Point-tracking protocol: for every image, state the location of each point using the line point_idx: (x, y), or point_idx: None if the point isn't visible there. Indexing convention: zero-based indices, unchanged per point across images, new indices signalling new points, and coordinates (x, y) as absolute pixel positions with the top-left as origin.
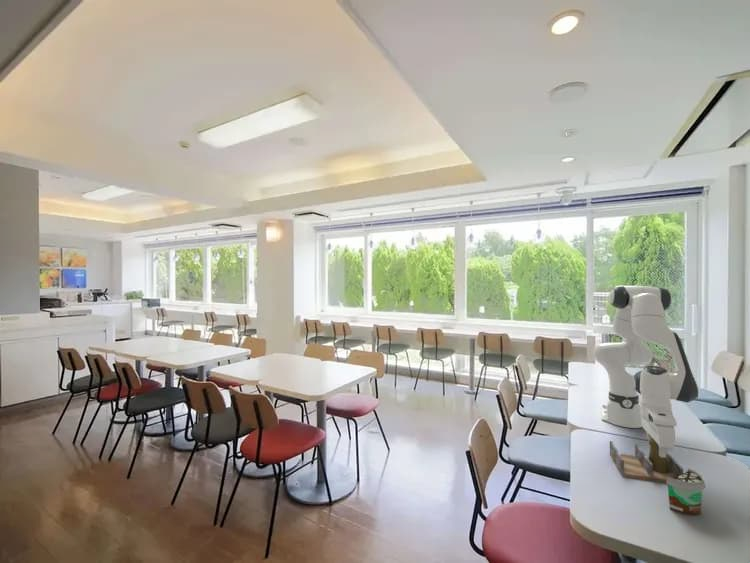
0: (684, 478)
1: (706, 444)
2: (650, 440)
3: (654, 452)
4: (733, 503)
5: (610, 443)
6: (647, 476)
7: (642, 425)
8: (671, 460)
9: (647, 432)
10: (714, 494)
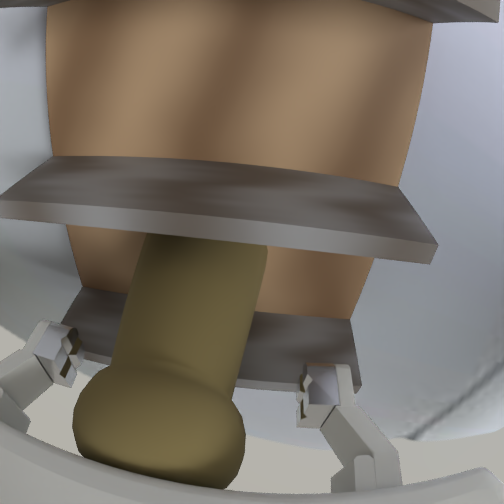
0: None
1: (455, 430)
2: (104, 420)
3: (126, 322)
4: None
5: None
6: (54, 141)
7: (470, 497)
8: None
9: (282, 501)
10: None
